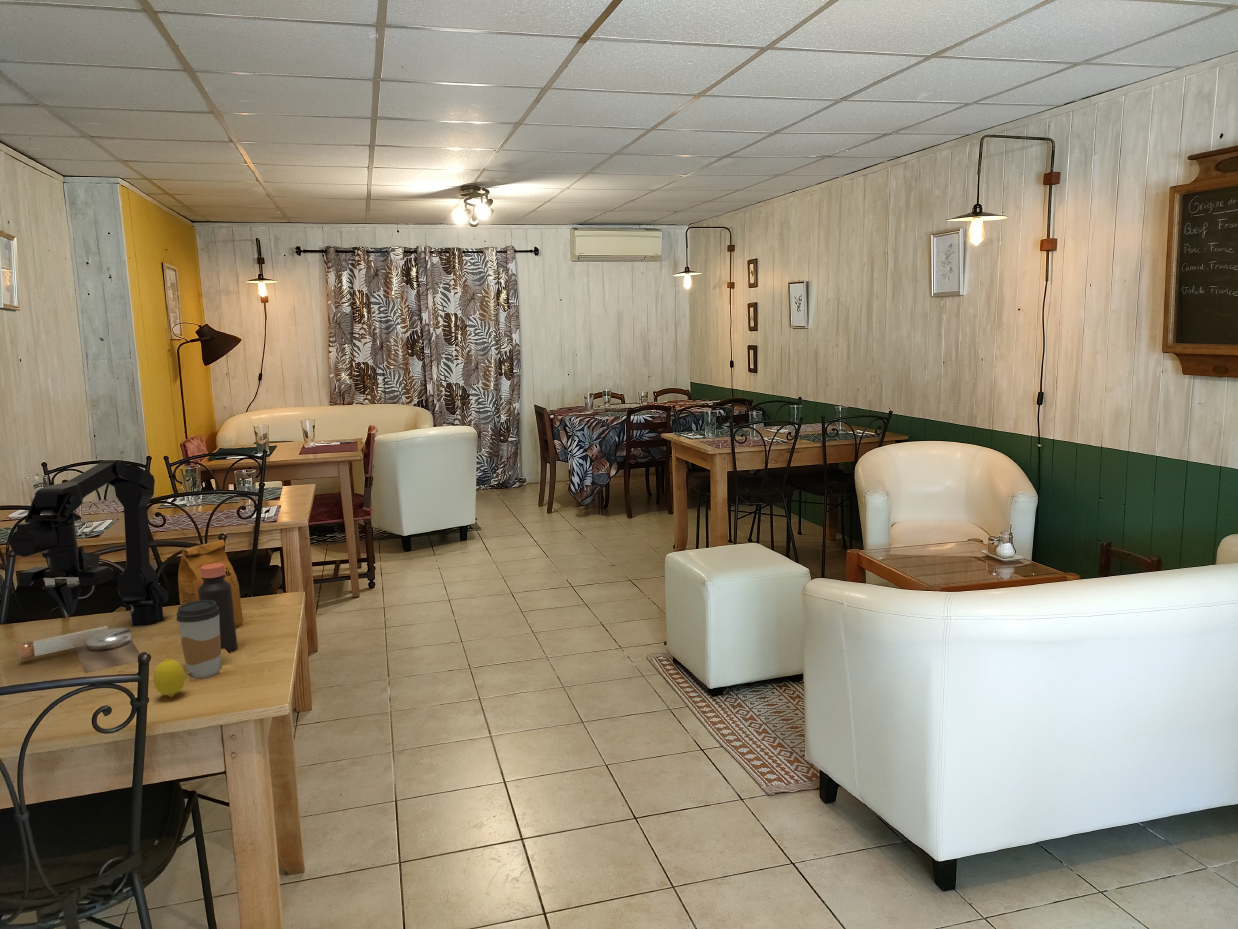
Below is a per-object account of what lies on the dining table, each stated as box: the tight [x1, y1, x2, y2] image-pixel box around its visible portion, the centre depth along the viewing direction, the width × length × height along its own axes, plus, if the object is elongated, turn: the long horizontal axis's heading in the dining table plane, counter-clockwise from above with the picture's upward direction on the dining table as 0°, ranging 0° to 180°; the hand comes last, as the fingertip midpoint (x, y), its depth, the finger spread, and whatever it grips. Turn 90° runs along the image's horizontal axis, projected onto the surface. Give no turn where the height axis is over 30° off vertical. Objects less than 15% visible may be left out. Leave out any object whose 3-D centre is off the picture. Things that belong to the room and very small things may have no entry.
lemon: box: [153, 658, 186, 698], centre depth 169 cm, size 6×6×8 cm
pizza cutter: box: [17, 625, 132, 660], centre depth 192 cm, size 9×22×4 cm, turn 130°
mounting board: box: [74, 639, 141, 674], centre depth 192 cm, size 11×25×2 cm, turn 38°
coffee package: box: [177, 539, 244, 628], centre depth 206 cm, size 10×12×22 cm
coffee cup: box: [176, 600, 222, 679], centre depth 180 cm, size 8×8×15 cm
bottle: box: [198, 563, 238, 654], centre depth 193 cm, size 7×7×20 cm
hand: (71, 613), depth 186 cm, fingers closed
